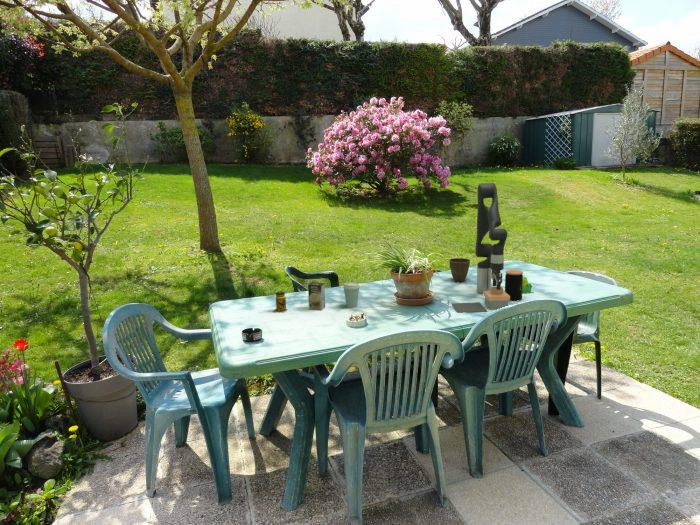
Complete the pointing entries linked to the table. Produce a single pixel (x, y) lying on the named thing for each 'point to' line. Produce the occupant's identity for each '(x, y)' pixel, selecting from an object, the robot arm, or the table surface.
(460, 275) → the plant pot
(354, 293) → the disposable coffee cup
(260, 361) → the table surface
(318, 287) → the coffee box
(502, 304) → the storage box
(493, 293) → the lid
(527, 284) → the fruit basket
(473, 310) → the rubber mat
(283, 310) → the condiment
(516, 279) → the coffee jar
